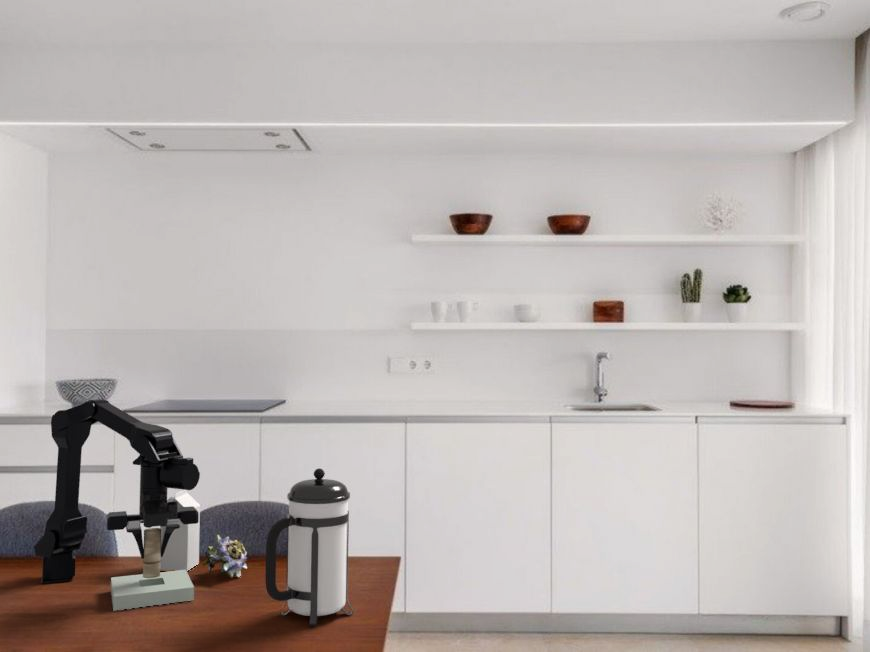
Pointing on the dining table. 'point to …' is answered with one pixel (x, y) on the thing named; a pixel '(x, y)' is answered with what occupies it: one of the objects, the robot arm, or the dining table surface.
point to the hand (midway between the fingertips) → (152, 557)
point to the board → (151, 590)
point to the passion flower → (227, 556)
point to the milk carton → (182, 539)
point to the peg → (152, 553)
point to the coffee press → (313, 549)
